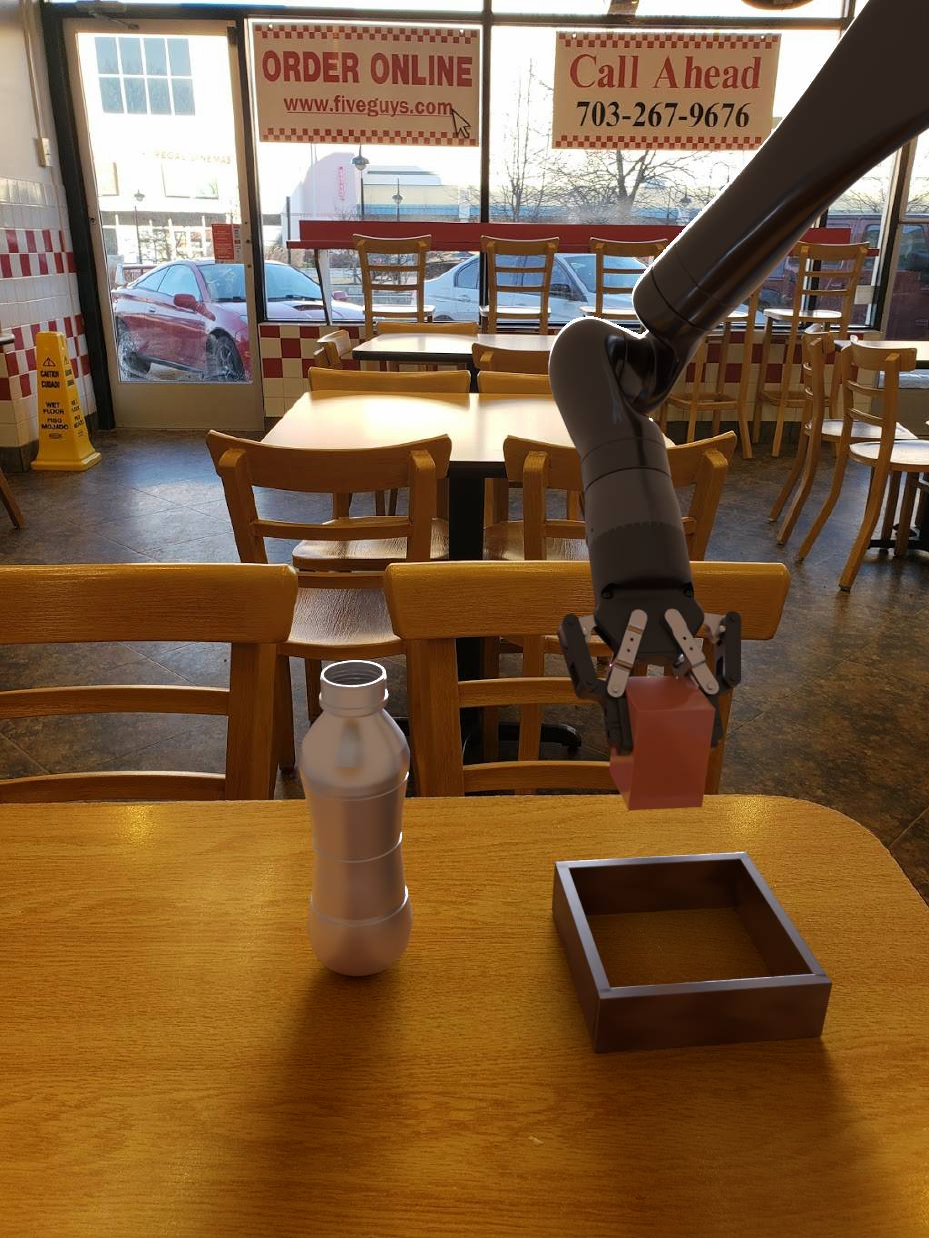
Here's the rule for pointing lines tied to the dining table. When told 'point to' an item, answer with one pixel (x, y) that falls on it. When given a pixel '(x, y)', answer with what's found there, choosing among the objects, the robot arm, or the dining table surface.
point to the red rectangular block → (664, 744)
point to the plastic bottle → (356, 823)
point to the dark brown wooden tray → (697, 1007)
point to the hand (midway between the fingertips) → (667, 750)
